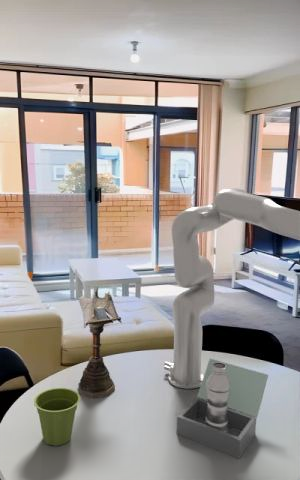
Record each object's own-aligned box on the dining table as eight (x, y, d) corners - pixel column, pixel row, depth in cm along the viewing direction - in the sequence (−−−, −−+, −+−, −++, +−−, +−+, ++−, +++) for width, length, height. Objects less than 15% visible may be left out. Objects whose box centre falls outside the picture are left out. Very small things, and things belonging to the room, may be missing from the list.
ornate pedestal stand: (127, 401, 130) (129, 292, 124) (86, 408, 125) (85, 296, 120) (113, 377, 145) (114, 279, 140) (76, 382, 141) (75, 281, 135)
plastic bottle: (213, 444, 110) (217, 373, 107) (199, 430, 116) (202, 362, 113) (233, 437, 113) (237, 368, 110) (218, 424, 119) (221, 358, 116)
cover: (209, 358, 128) (210, 359, 129) (197, 396, 123) (198, 397, 124) (267, 374, 119) (268, 375, 119) (256, 417, 114) (257, 417, 115)
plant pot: (58, 458, 103) (57, 416, 101) (25, 441, 109) (24, 402, 108) (89, 434, 113) (89, 395, 111) (57, 420, 119) (56, 383, 118)
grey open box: (176, 433, 114) (177, 416, 114) (196, 413, 124) (197, 397, 124) (238, 458, 105) (240, 440, 104) (255, 434, 115) (256, 417, 114)
